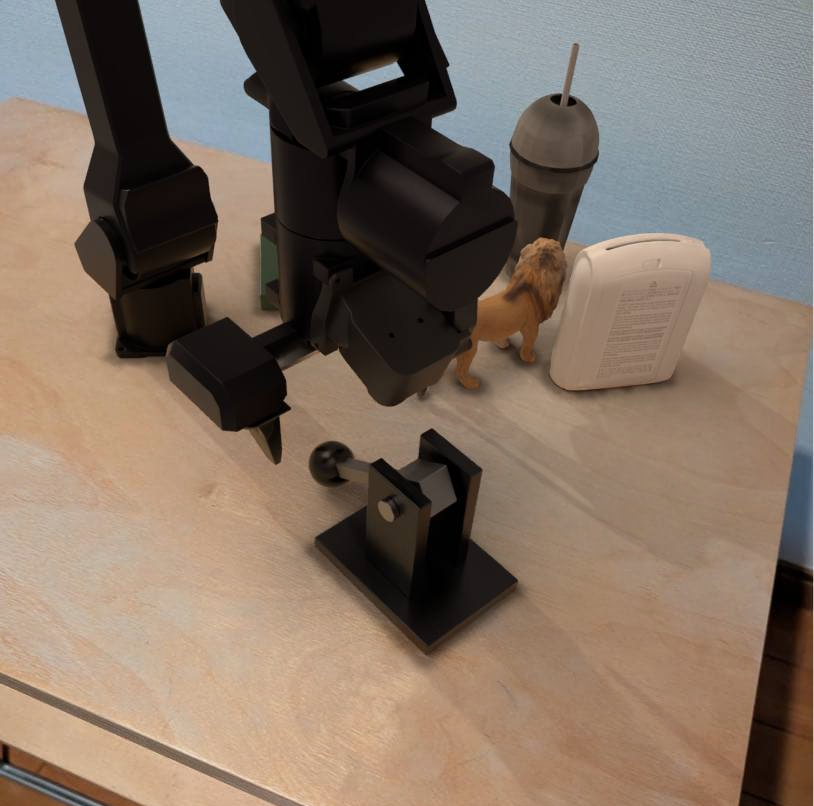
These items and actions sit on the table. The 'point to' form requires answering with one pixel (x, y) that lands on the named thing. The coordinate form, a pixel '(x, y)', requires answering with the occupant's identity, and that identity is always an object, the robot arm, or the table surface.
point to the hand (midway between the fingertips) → (331, 428)
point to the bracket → (419, 550)
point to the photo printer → (629, 310)
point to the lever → (339, 466)
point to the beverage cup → (550, 165)
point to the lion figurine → (518, 305)
